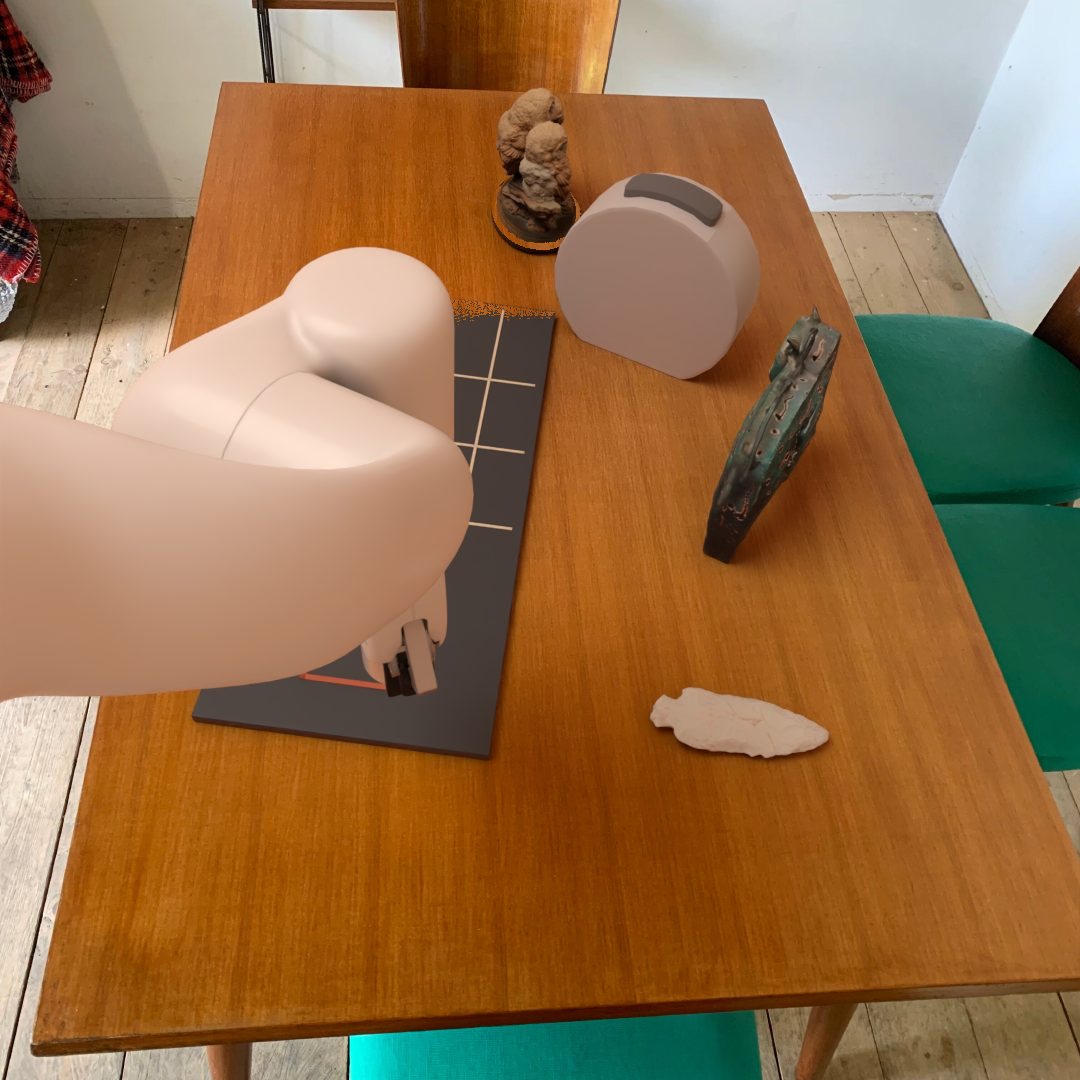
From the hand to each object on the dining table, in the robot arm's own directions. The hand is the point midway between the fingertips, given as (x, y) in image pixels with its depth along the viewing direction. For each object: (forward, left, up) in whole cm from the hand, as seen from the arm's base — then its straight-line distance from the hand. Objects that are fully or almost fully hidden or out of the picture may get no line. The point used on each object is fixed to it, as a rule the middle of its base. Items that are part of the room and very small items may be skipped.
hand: (398, 650), depth 63 cm
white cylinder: (0, 0, 0) cm, 0 cm away
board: (+8, +27, -15) cm, 32 cm away
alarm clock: (+40, +39, -15) cm, 58 cm away
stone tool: (+26, -8, -15) cm, 31 cm away
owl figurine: (+37, +65, -15) cm, 76 cm away
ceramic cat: (+40, +14, -15) cm, 45 cm away
